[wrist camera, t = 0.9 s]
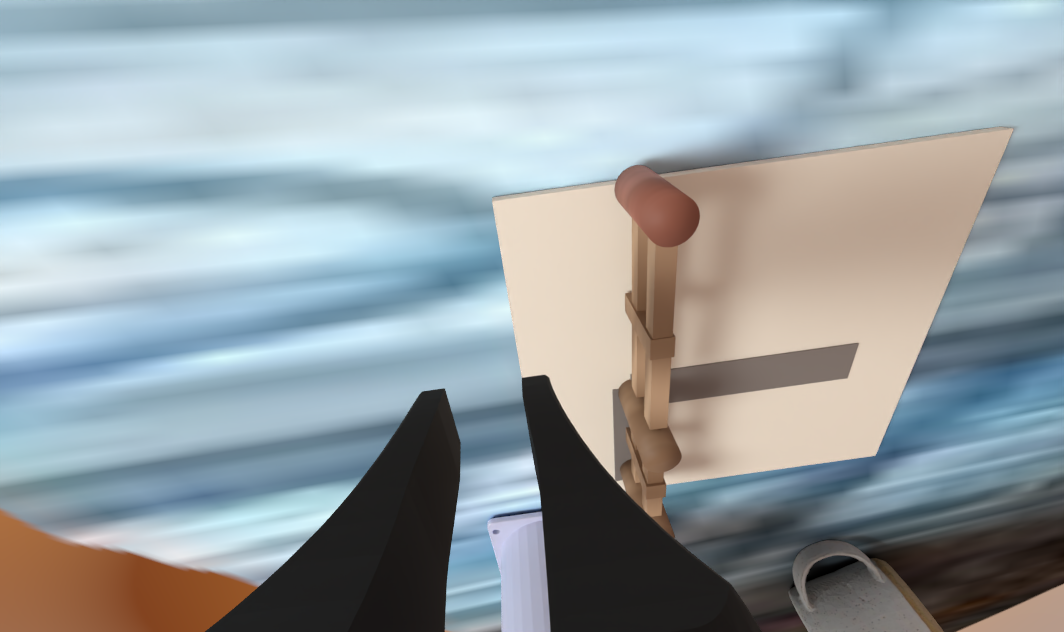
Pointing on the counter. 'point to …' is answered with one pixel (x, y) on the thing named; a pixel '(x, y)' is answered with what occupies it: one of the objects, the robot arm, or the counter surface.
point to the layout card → (753, 298)
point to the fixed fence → (647, 458)
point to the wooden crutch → (654, 280)
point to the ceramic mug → (855, 595)
